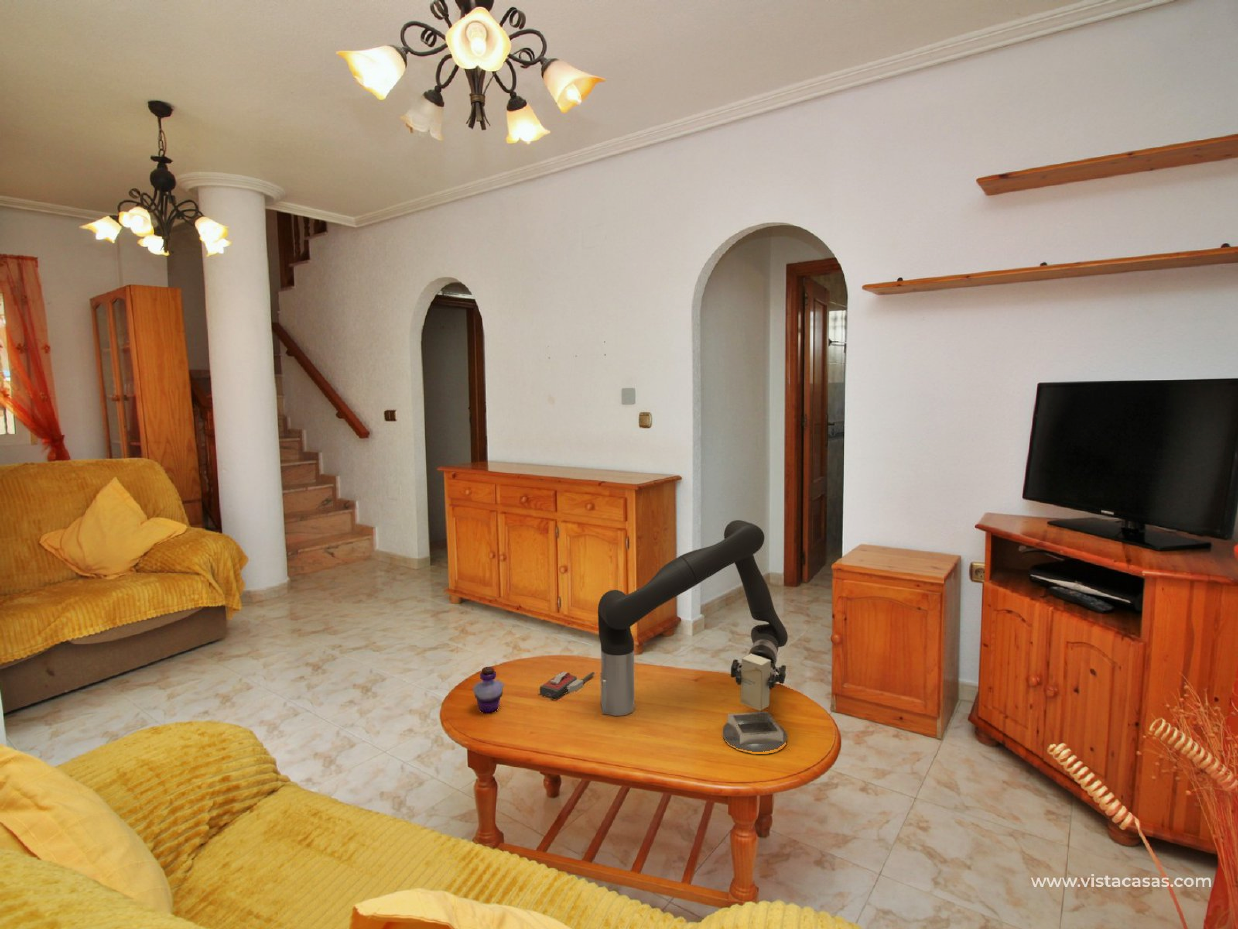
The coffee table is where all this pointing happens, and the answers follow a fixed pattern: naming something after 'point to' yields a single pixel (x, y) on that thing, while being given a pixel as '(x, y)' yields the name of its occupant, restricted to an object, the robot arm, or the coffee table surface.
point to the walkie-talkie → (562, 685)
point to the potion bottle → (488, 691)
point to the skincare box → (755, 681)
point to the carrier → (754, 732)
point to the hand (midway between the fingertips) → (754, 683)
